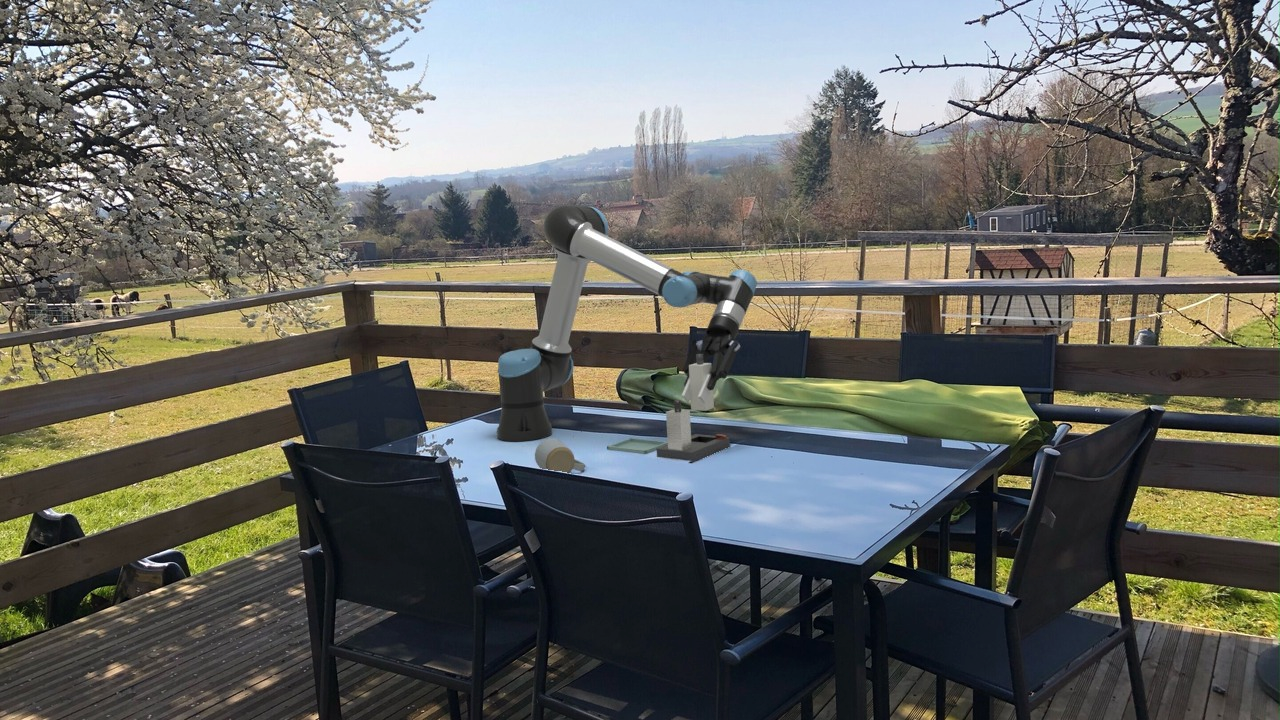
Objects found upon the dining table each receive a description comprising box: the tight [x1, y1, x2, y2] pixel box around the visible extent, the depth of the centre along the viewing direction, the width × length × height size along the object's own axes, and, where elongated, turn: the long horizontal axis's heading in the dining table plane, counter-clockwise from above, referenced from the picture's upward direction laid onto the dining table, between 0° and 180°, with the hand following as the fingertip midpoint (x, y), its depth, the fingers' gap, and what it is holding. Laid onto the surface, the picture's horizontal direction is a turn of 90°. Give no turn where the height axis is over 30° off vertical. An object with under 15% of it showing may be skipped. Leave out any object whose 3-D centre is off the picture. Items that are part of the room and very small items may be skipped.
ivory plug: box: [689, 354, 715, 412], centre depth 216 cm, size 4×4×13 cm
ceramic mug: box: [534, 437, 586, 474], centre depth 204 cm, size 11×8×8 cm
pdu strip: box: [656, 399, 731, 464], centre depth 215 cm, size 10×17×14 cm, turn 144°
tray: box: [606, 437, 668, 455], centre depth 222 cm, size 12×10×1 cm
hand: (693, 399), depth 214 cm, fingers closed on ivory plug, 4 cm apart
